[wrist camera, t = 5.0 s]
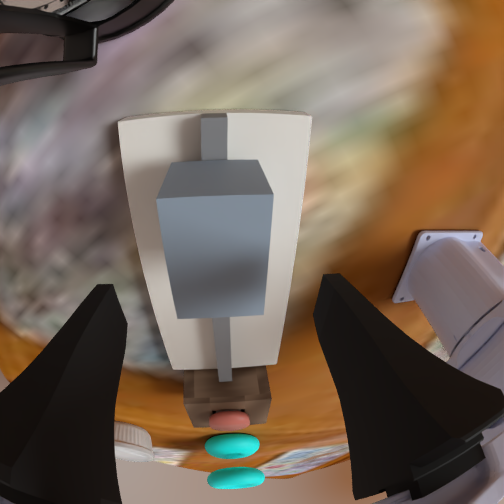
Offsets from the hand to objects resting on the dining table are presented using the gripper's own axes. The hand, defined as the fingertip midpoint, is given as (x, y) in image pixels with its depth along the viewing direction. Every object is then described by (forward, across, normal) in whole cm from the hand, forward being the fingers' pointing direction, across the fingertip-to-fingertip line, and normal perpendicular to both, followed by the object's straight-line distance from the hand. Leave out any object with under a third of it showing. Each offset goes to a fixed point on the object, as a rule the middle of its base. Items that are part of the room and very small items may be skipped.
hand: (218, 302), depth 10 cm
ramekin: (+10, +19, +42) cm, 47 cm away
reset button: (+8, 0, +21) cm, 22 cm away
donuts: (+9, 0, +47) cm, 48 cm away
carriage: (+7, 0, 0) cm, 7 cm away
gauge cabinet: (+9, 0, +21) cm, 23 cm away
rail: (+9, 0, +6) cm, 11 cm away
